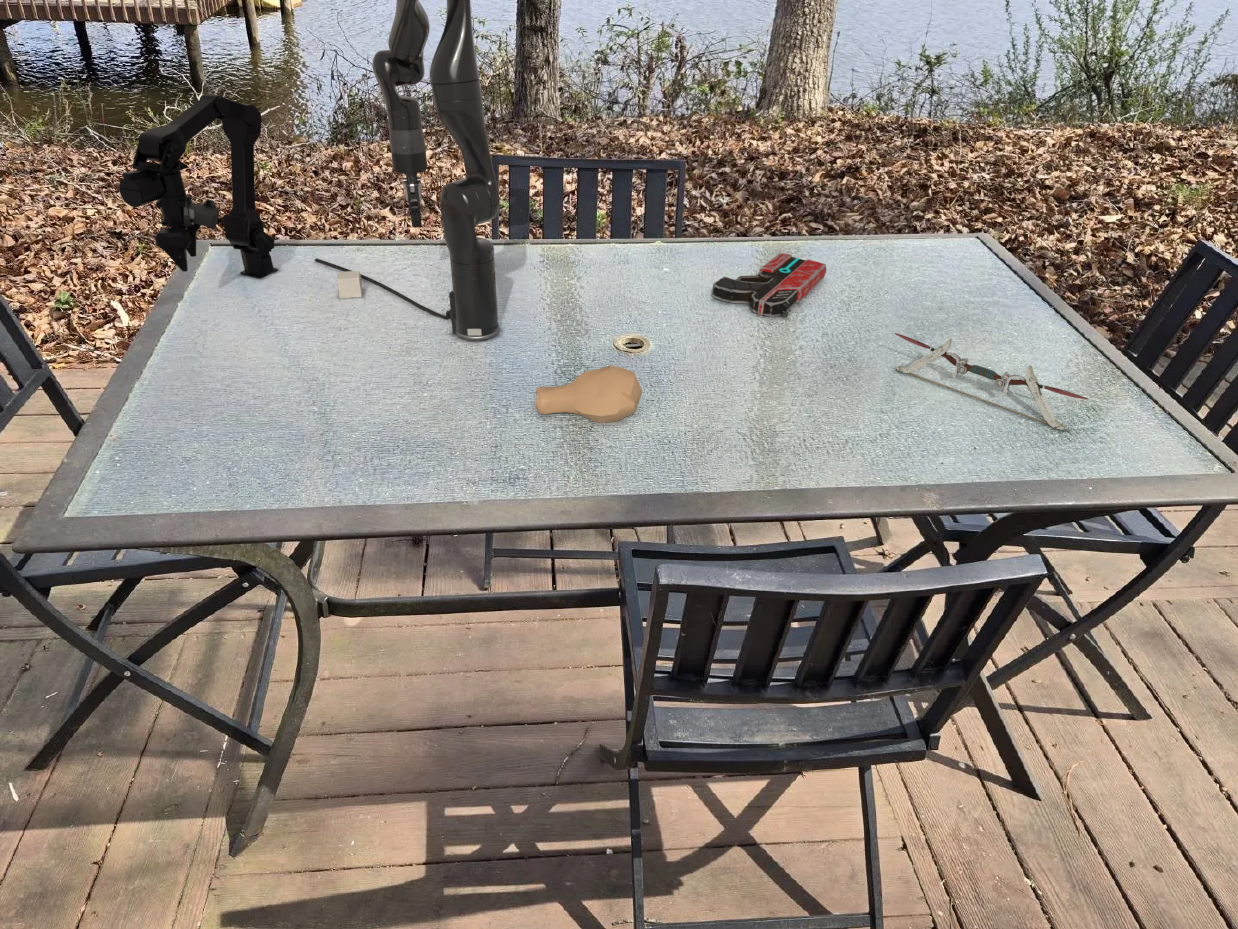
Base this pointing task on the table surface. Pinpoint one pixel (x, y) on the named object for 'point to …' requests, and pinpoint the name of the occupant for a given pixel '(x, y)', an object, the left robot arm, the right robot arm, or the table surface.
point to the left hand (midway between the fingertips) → (189, 263)
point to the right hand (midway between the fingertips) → (416, 221)
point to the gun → (772, 285)
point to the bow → (1000, 381)
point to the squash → (594, 395)
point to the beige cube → (349, 284)
